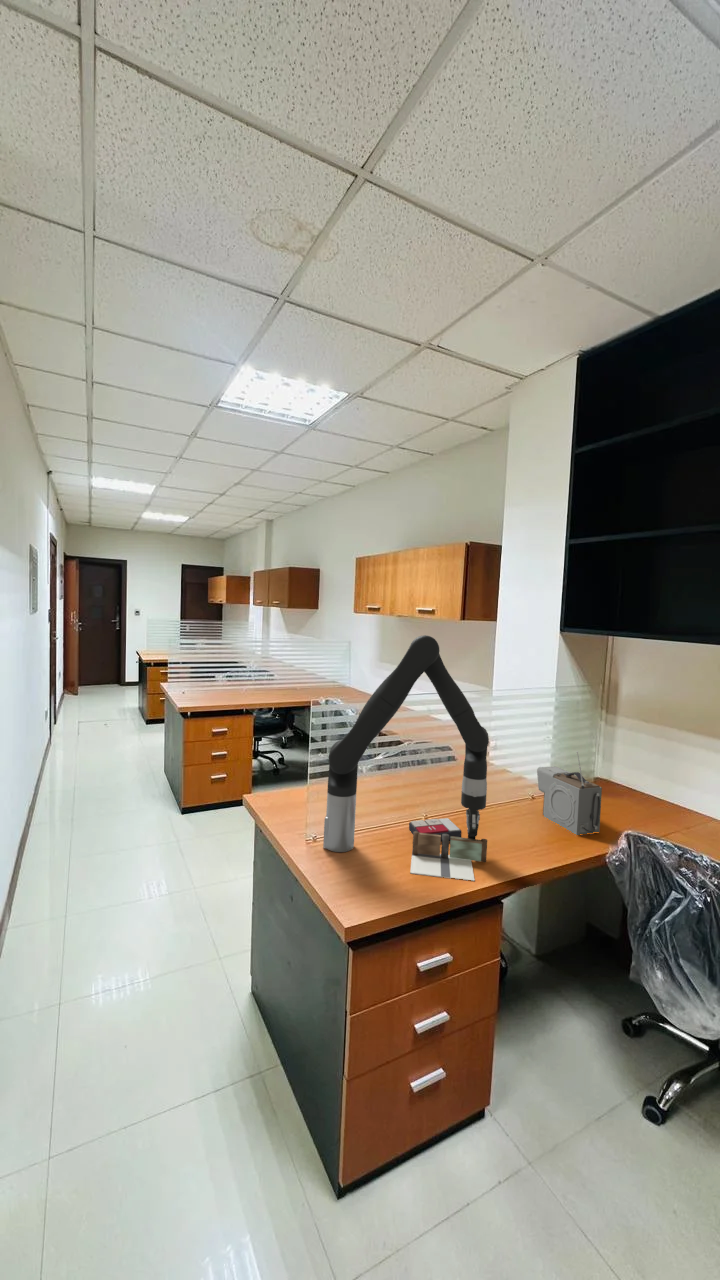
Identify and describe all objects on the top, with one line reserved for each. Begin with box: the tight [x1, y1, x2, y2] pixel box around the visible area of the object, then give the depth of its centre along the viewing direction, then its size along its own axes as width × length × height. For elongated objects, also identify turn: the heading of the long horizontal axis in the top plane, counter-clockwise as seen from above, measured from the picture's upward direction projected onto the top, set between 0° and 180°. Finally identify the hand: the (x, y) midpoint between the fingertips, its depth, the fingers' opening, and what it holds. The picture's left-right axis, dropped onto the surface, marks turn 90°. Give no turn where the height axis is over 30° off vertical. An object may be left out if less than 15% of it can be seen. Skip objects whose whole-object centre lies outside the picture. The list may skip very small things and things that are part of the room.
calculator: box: [408, 817, 463, 843], centre depth 165 cm, size 11×4×15 cm
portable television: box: [536, 751, 603, 836], centre depth 181 cm, size 12×24×30 cm, turn 18°
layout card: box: [409, 853, 476, 882], centre depth 143 cm, size 18×14×1 cm
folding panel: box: [449, 836, 488, 863], centre depth 146 cm, size 11×2×6 cm, turn 79°
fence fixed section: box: [411, 831, 450, 859], centre depth 148 cm, size 11×2×7 cm, turn 81°
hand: (471, 845), depth 149 cm, fingers closed
